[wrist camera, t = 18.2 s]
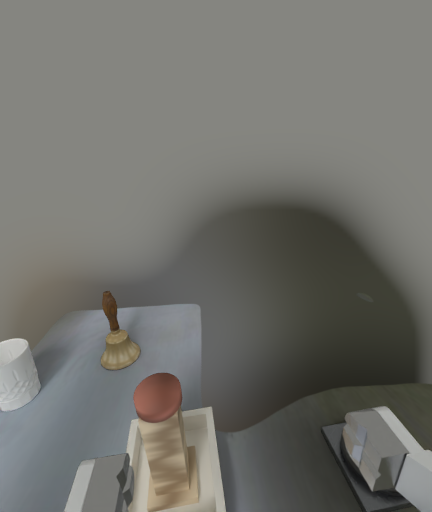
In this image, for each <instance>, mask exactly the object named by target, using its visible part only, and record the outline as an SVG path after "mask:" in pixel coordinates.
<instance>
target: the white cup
mask: <svg viewBox="0 0 432 512" xmlns="http://www.w3.org/2000/svg"><path fill="white" fill-rule="evenodd" d="M40 388H41V385H40V382H39V379H38V372H37V369H36V365H35V362H34V359H33V356H32V353H31V350H30V347H29V344H28V342H27V340H25V339H21V338H16V339H10V340H6V341H3V342H0V410H2V411H13V410H16V409H18V408H21V407H23V406H24V405H26V404H27V403H29V402H30V401H32V400H33V399H34V398H35V396H36V395H37V394H38V393H39V391H40Z"/></svg>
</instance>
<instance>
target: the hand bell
mask: <svg viewBox="0 0 432 512" xmlns="http://www.w3.org/2000/svg"><path fill="white" fill-rule="evenodd" d="M102 305H103V310H104V313H105V315H106V316H107V318H108V320H109V323H110V329H111V333H109V334H108V335H107V337H106V350H105V352H104V353H103V355H102V357H101V365H102V366H103V367H104V368H106V369H109V370H118V369H122V368H125V367H127V366H129V365H131V364H132V363H133V362H135V361H136V360H137V359H138V357H139V355H140V347H139V346H138V345H137V344H136V343H134V342H132V341H131V340H130V338H129V336H128V333H127V332H126V331H125V330H120V329H119V325H118V321H117V305H116V301H115V299H114V298H113V296H112V295H111V293H110V291H106V292H104V293H103V301H102Z"/></svg>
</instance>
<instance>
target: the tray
mask: <svg viewBox="0 0 432 512" xmlns="http://www.w3.org/2000/svg"><path fill="white" fill-rule="evenodd" d="M182 417H183V423H184V430H185V437H186V443H187V447H189V446H195V450H196V465H197V482H198V498H199V503H194V504H189V505H185V506H180V507H175V508H170V509H165V510H160V511H156V512H226V508H225V500H224V493H223V486H222V478H221V471H220V464H219V456H218V449H217V442H216V434H215V427H214V420H213V413H212V407H206V408H200V409H194V410H188V411H182ZM138 420H139V419H134V420H131V426H130V432H129V437H128V443H127V449H126V453H128V454H129V457H130V463H129V465H130V466H132V467H133V471H134V494H133V500H132V502H131V503H130V505H129V507H128V511H129V512H148V511H147V501H148V489H149V478H150V468H149V464H148V460H147V456H146V452H145V448H144V443H143V439H142V435H141V431H140V427H139V423H138Z"/></svg>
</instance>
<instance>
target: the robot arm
mask: <svg viewBox="0 0 432 512" xmlns="http://www.w3.org/2000/svg"><path fill="white" fill-rule="evenodd" d="M345 420H346V422H347V424H346V425H345V426H344V427H343V438H344V442H345V444H346V447H347V449H348V451H349V453H350V454H351V456H352V457H353V458H355V459H356V460H357V461H359V468H360V472H361V473H362V475H363V477H364V478H365V480H366V482H367V483H368V485H369V487H370V489H371V490H372V492H373V491H378V490H384V489H389V488H395V487H396V488H395V489H396V490H397V491H398V492H399V493H400V494H401V495H403V496H404V497H405V498H406V499H407V500H408V501H409V502H411V503H412V504H413V505H414V506H415V507H416V508H417V509H419V510H420V511H421V512H432V452H431V451H429V450H424V449H423V448H422V447H421V446H420V445H419V443H418V442H417V441H416V440H415V439H414V438H413V436H412V435H411V434H410V433H409V432H408V431H407V429H406V428H405V427H404V426H403V425H402V423H401V422H400V421H399V420H398V419H397V418H396V416H395V415H394V414H393V413H392V412H391V411H390V409H388V408H387V407H385V406H381V407H376V408H369V409H364V410H359V411H354V412H350V413H347V414H346V416H345ZM129 463H130V457H129V454H128V453H124V454H118V455H112V456H107V457H101V458H94V459H89V460H83V461H82V462H81V463H80V465H79V467H78V469H77V473H76V476H75V479H74V482H73V485H72V488H71V491H70V494H69V497H68V500H67V503H66V506H65V510H64V512H129V511H128V507H129V505H130V503H131V502H132V500H133V494H134V471H133V467H132V466H130V465H129Z"/></svg>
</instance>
